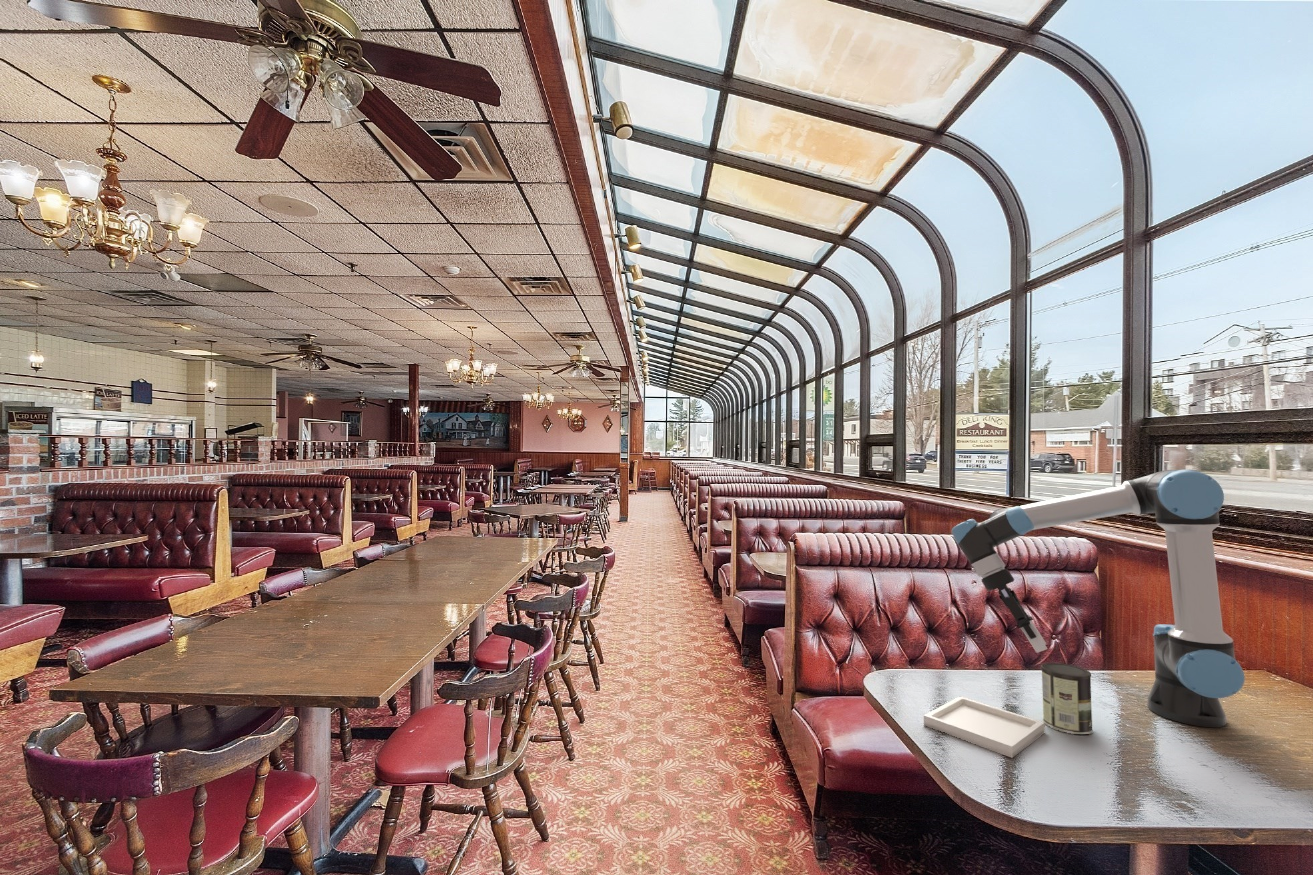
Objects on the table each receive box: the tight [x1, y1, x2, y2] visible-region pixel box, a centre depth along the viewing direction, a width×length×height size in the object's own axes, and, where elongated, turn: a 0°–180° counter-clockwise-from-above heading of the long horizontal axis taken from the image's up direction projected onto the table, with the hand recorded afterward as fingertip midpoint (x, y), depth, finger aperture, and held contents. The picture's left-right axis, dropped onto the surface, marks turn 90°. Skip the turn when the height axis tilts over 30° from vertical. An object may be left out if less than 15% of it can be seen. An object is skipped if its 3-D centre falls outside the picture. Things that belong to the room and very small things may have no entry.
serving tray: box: [923, 695, 1046, 759], centre depth 141 cm, size 20×20×2 cm
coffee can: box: [1040, 662, 1093, 735], centre depth 144 cm, size 10×10×14 cm
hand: (1042, 648), depth 150 cm, fingers open, 13 cm apart
